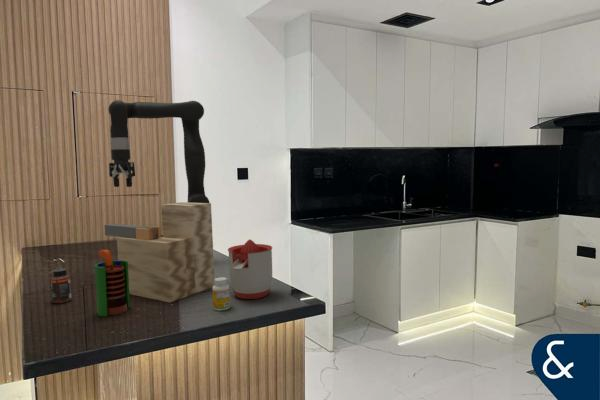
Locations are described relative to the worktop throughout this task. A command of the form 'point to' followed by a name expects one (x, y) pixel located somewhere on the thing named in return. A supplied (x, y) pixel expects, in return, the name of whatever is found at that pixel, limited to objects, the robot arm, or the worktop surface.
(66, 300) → the supplement bottle
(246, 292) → the citrus juicer
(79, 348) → the worktop surface
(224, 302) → the supplement bottle
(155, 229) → the grey and tan bar
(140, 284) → the stand
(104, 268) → the motor
